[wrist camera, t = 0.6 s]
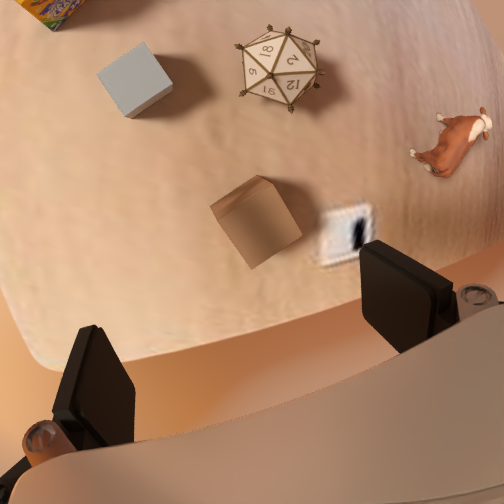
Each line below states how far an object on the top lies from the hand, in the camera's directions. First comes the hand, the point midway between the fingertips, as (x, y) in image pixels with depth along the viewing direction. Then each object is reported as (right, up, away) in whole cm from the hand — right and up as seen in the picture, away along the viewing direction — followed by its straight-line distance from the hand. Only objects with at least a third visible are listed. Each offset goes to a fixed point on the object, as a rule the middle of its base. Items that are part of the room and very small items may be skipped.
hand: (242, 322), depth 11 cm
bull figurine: (+26, +19, +27) cm, 41 cm away
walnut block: (0, +7, +25) cm, 26 cm away
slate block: (-11, +19, +17) cm, 28 cm away
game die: (+2, +21, +20) cm, 29 cm away
